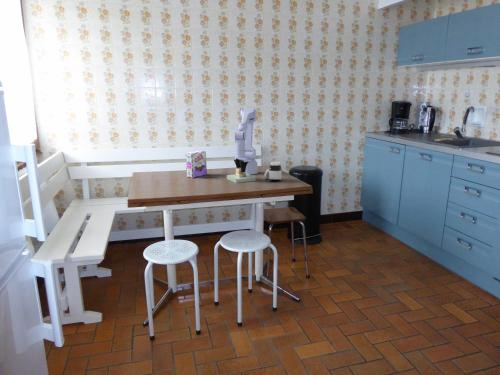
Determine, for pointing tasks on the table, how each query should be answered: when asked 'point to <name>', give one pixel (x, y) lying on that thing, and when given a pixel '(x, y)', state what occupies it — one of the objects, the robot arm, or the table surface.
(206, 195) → the table surface
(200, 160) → the candy box
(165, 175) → the table surface
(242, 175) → the beech block
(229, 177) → the sage box
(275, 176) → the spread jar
